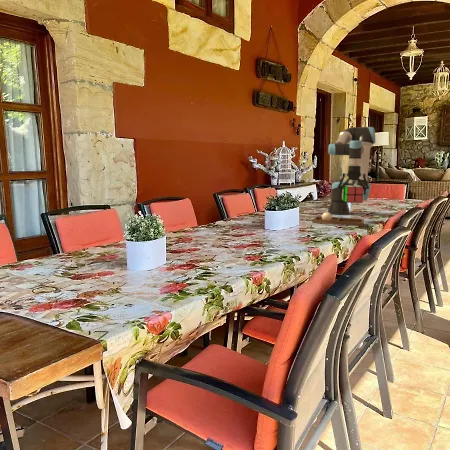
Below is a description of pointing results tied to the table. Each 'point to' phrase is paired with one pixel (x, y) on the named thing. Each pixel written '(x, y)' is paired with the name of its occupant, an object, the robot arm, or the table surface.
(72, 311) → the table surface
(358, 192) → the puzzle cube
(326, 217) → the ceramic egg
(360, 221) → the brown wooden tray
